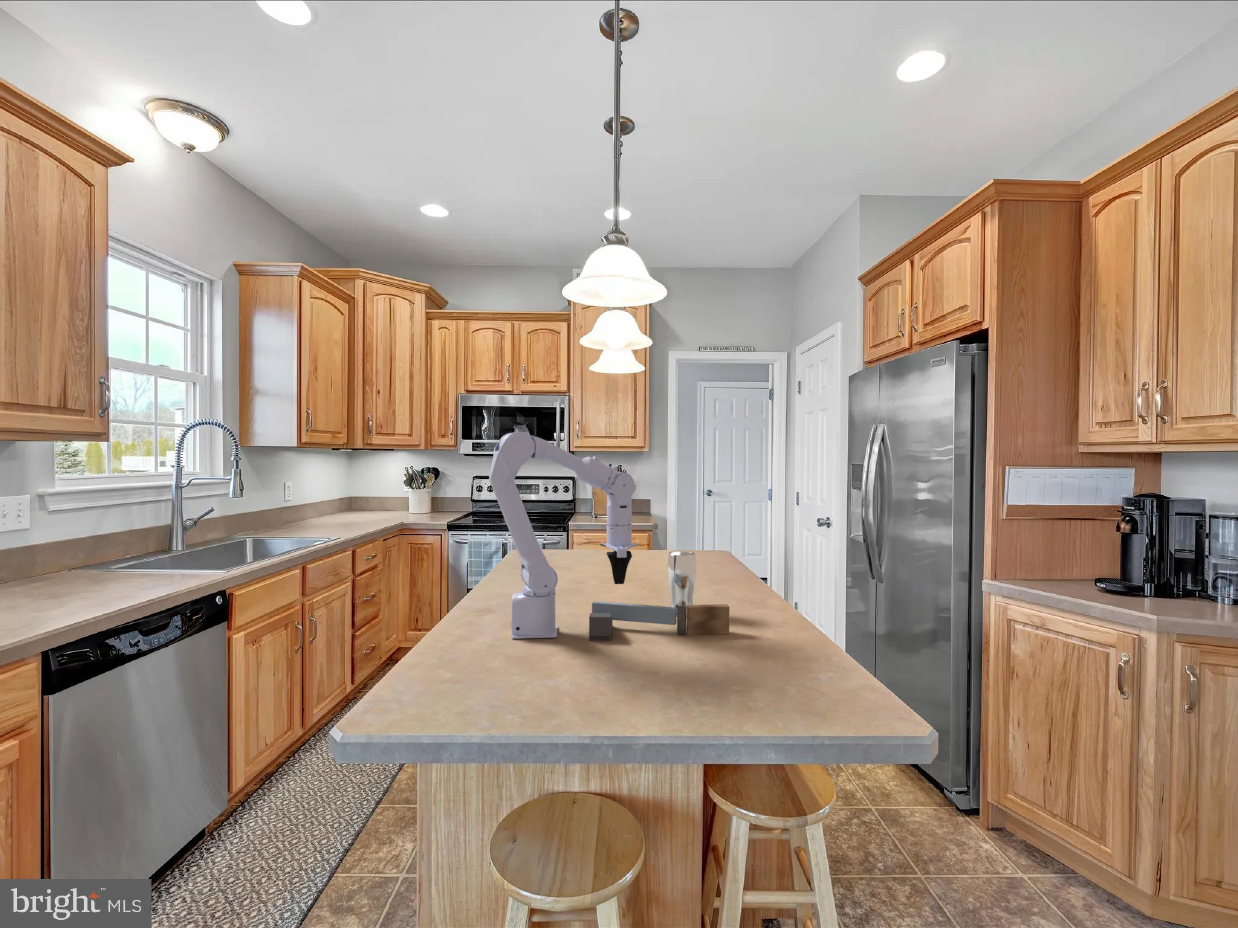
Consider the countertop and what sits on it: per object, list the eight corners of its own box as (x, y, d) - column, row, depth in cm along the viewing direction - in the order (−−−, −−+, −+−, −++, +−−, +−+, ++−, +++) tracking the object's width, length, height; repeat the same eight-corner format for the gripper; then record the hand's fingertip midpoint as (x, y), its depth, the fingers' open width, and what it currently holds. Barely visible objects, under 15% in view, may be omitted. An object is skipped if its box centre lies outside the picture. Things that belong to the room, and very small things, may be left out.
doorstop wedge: (610, 640, 120) (610, 617, 120) (589, 640, 120) (589, 616, 120) (612, 626, 130) (612, 604, 130) (592, 626, 130) (592, 604, 130)
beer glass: (697, 618, 137) (698, 555, 136) (668, 618, 137) (668, 555, 136) (694, 610, 144) (694, 550, 143) (666, 610, 144) (666, 550, 143)
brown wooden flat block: (677, 635, 124) (678, 607, 124) (676, 632, 126) (676, 605, 126) (729, 633, 125) (729, 606, 125) (726, 631, 127) (726, 604, 127)
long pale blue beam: (591, 618, 130) (591, 602, 130) (594, 616, 131) (594, 601, 131) (675, 625, 125) (675, 609, 125) (676, 623, 126) (676, 607, 126)
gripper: (640, 528, 125) (640, 590, 125) (633, 520, 139) (632, 576, 139) (607, 528, 124) (607, 591, 124) (603, 520, 138) (603, 576, 139)
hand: (619, 583), depth 132 cm, fingers closed
